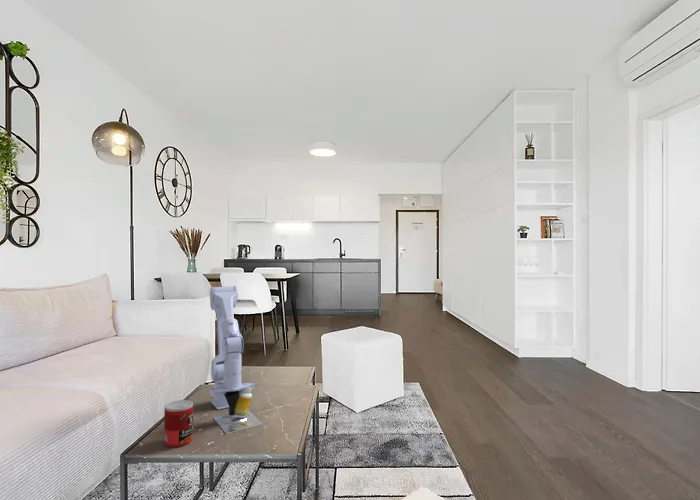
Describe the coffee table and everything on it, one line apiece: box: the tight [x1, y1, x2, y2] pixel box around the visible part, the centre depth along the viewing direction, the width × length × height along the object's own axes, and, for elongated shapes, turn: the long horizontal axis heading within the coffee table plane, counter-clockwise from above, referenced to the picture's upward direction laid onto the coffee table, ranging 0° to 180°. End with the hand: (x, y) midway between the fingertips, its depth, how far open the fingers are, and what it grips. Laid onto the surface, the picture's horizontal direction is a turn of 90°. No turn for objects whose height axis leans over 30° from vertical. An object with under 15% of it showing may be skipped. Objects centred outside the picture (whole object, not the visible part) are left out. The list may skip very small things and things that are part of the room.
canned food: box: [163, 399, 194, 448], centre depth 114 cm, size 8×8×11 cm
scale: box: [212, 410, 264, 435], centre depth 128 cm, size 15×12×1 cm
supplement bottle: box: [233, 387, 253, 418], centre depth 131 cm, size 6×5×10 cm
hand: (232, 414), depth 128 cm, fingers closed, pressing on supplement bottle
